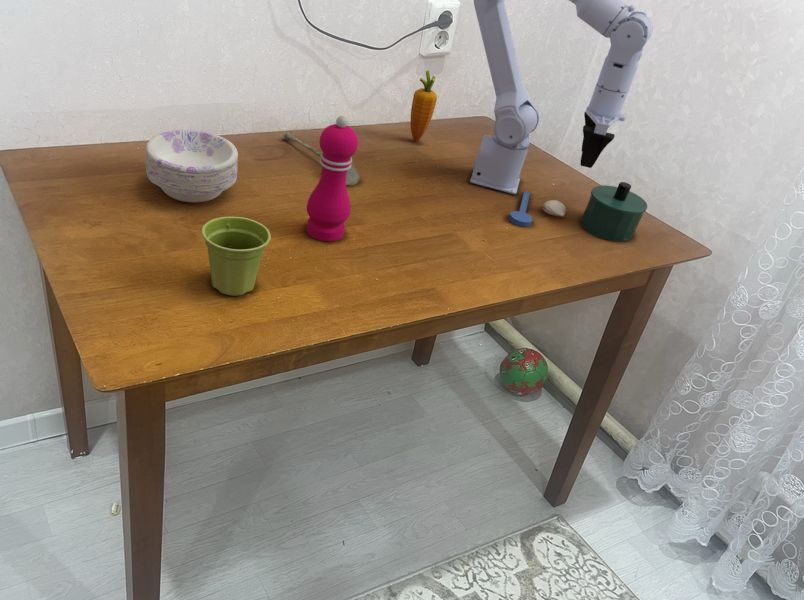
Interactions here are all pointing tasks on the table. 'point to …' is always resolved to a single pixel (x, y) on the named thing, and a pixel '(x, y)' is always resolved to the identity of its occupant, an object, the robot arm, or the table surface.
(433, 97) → the carrot
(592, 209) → the saucepan
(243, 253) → the plant pot
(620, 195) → the saucepan lid
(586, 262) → the table surface
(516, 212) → the blue spoon
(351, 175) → the soupspoon
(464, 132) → the table surface
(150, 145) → the paper bowls
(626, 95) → the robot arm
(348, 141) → the pepper mill
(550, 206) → the cream teardrop shape
